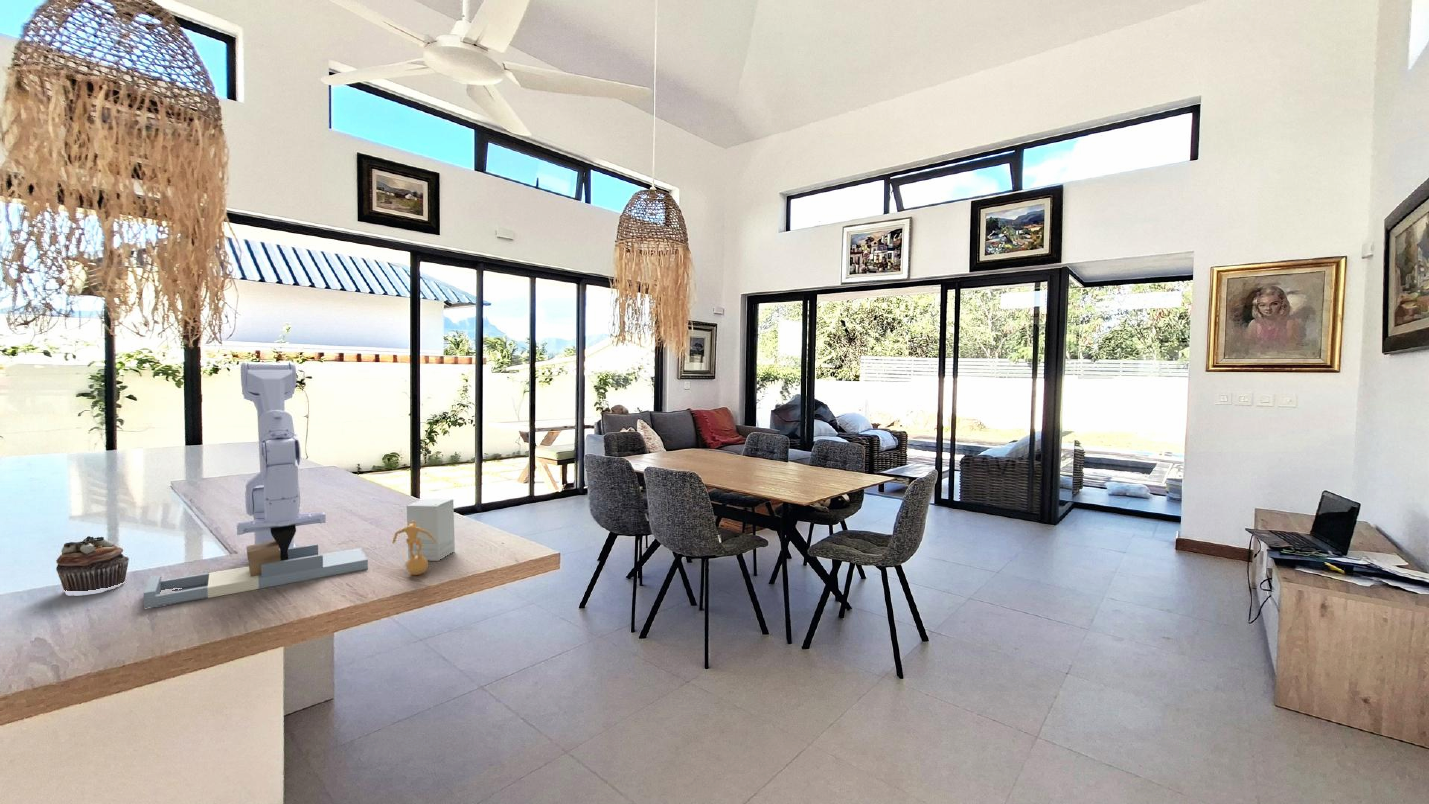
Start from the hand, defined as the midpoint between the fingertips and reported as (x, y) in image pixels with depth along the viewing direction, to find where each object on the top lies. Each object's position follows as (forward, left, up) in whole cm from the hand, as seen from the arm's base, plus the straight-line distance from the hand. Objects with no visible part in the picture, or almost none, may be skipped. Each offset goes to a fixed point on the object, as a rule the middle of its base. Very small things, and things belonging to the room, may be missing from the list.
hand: (284, 562), depth 119 cm
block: (0, -3, -1) cm, 3 cm away
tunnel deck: (0, -3, -3) cm, 4 cm away
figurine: (+16, +21, -3) cm, 27 cm away
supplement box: (+4, +27, -3) cm, 28 cm away
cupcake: (-14, -29, -3) cm, 32 cm away
